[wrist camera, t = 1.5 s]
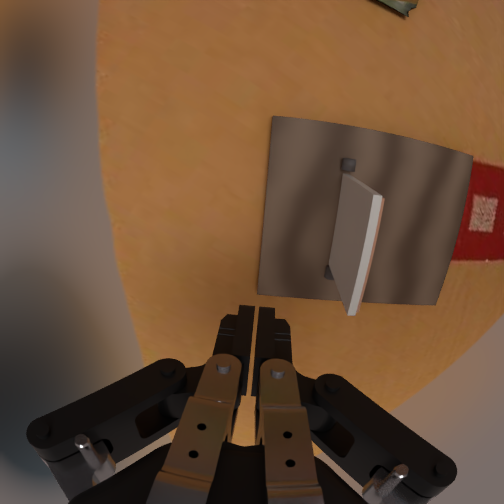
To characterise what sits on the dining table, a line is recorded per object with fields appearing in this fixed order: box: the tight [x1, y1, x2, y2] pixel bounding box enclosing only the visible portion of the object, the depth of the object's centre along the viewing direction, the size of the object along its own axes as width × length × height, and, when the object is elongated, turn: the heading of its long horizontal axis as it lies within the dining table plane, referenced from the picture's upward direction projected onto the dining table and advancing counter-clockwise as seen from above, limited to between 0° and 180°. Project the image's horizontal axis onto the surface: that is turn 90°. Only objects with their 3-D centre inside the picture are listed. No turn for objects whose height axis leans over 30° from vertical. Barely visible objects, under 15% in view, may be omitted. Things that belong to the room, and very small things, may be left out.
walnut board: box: [257, 116, 473, 305], centre depth 32 cm, size 24×20×3 cm
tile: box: [329, 174, 385, 316], centre depth 27 cm, size 10×10×1 cm
